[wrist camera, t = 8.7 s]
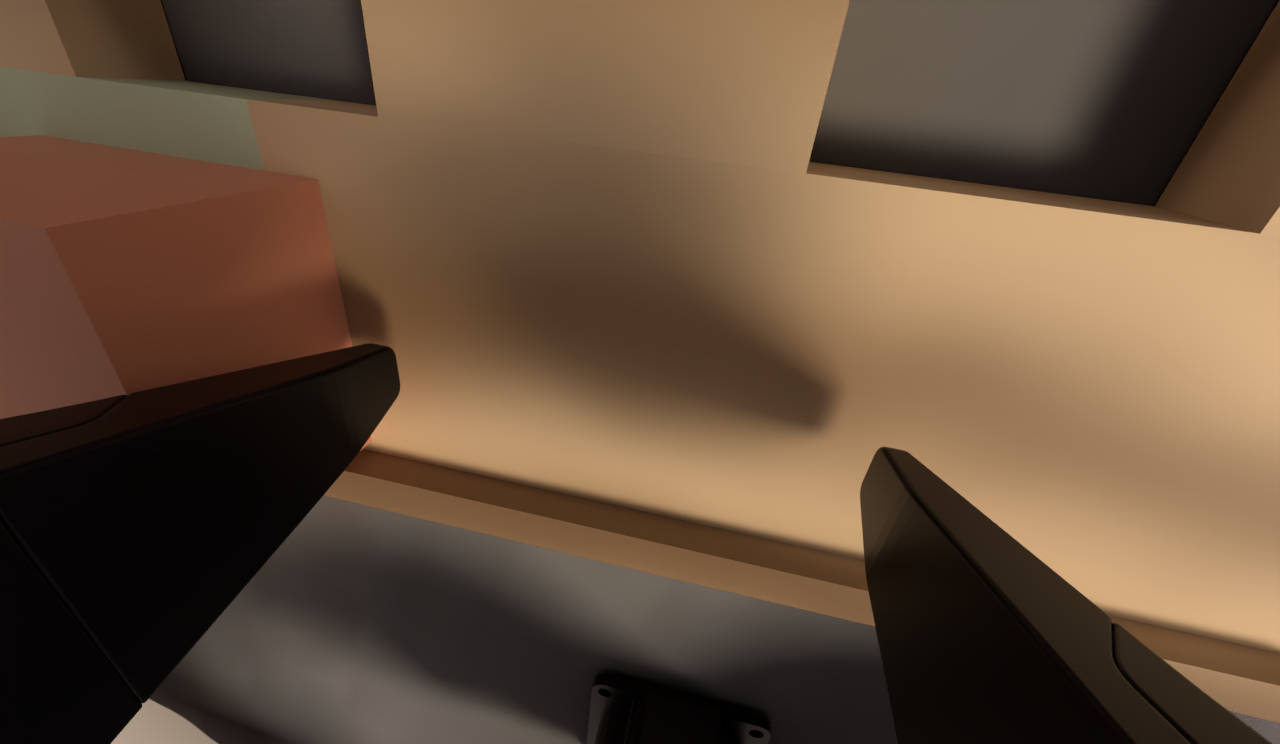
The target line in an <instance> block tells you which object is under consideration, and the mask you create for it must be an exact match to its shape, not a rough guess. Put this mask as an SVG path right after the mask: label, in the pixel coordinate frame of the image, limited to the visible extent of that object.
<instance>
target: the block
mask: <svg viewBox="0 0 1280 744" xmlns="http://www.w3.org/2000/svg"><path fill="white" fill-rule="evenodd" d="M348 347H352V342H351V337H350V332H349V327H348V323H347V318H346V313H345V308H344V304H343V299H342V294H341V289H340V284H339V280H338V275H337V270H336V265H335V260H334V256H333V251H332V246H331V241H330V236H329V232H328V227H327V222H326V217H325V213H324V208H323V203H322V198H321V193H320V189H319V184H318V179H312V178H306V177H300V176H294V175H288V174H281V173H275V172H269V171H263V170H256V169H250V168H244V167H238V166H231V165H225V164H219V163H213V162H207V161H200V160H194V159H188V158H182V157H175V156H169V155H163V154H157V153H150V152H144V151H138V150H132V149H126V148H119V147H113V146H107V145H101V144H94V143H88V142H82V141H76V140H69V139H63V138H57V137H51V136H45V135H35V136H14V137H0V419H2V418H8V417H13V416H19V415H24V414H29V413H35V412H40V411H45V410H50V409H55V408H60V407H65V406H70V405H75V404H80V403H85V402H90V401H95V400H100V399H105V398H109V397H114V396H119V395H129V394H131V393H134V392H138V391H143V390H148V389H153V388H157V387H162V386H167V385H172V384H176V383H181V382H186V381H191V380H196V379H200V378H205V377H210V376H215V375H219V374H224V373H229V372H234V371H238V370H243V369H248V368H253V367H258V366H262V365H267V364H272V363H277V362H281V361H286V360H291V359H296V358H300V357H305V356H310V355H315V354H319V353H324V352H329V351H334V350H339V349H343V348H348ZM371 441H372V438H371V436H370V438H369V439H368V440H367V442H366V443H365V445H364V446H363V448H364V447H365V446H367V445H368V444H369V443H370V442H371ZM363 448H362V449H363ZM362 449H361V450H362ZM361 450H360V451H361Z"/></svg>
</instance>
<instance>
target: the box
mask: <svg viewBox="0 0 1280 744" xmlns="http://www.w3.org/2000/svg"><path fill="white" fill-rule="evenodd" d="M849 2H850V0H361V5H362V11H363V18H364V25H365V32H366V39H367V45H368V52H369V59H370V66H371V72H372V79H373V86H374V93H375V100H376V106H375V105H368V104H360V103H352V102H344V101H337V100H329V99H321V98H313V97H306V96H298V95H290V94H283V93H275V92H267V91H259V90H252V89H244V88H236V87H228V86H221V85H213V84H205V83H198V82H190V81H185V78H184V74H183V71H182V68H181V65H180V62H179V58H178V55H177V52H176V49H175V46H174V42H173V39H172V36H171V33H170V30H169V26H168V23H167V20H166V17H165V14H164V10H163V7H162V4H161V1H160V0H0V137H14V136H35V135H45V136H51V137H57V138H63V139H69V140H76V141H82V142H88V143H94V144H101V145H107V146H113V147H119V148H126V149H132V150H138V151H144V152H150V153H157V154H163V155H169V156H175V157H182V158H188V159H194V160H200V161H207V162H213V163H219V164H225V165H231V166H238V167H244V168H250V169H256V170H263V171H269V172H275V173H281V174H288V175H294V176H300V177H306V178H312V179H318V184H319V189H320V193H321V198H322V203H323V208H324V213H325V217H326V222H327V227H328V232H329V236H330V241H331V246H332V251H333V256H334V260H335V265H336V270H337V275H338V280H339V284H340V289H341V294H342V299H343V304H344V308H345V313H346V318H347V323H348V327H349V332H350V337H351V342H352V347H353V346H358V345H362V344H367V343H374V344H379V345H384V346H388V347H390V348H392V349H393V350H394V352H395V354H396V360H397V366H398V372H399V378H400V392H399V395H398V397H397V399H396V400H395V402H394V403H393V405H392V406H391V407H390V409H389V410H388V412H387V413H386V415H385V416H384V417H383V419H382V420H381V422H380V423H379V425H378V426H377V428H376V429H375V430H374V432H373V433H372V435H371V438H372V441H371V442H370V443H369V444H368V445H367V446H365V447H364V448H363V449H362V450H361V451H360V452H359V453H358V454H357V456H356V457H355V459H354V460H353V461H352V462H351V463H350V465H349V466H348V467H347V468H346V470H345V471H344V472H343V473H342V474H341V475H340V477H339V478H338V479H337V480H336V481H335V482H334V484H333V485H332V486H331V487H330V488H329V489H328V491H327V492H326V493H325V494H324V496H328V497H333V498H337V499H341V500H345V501H349V502H354V503H358V504H362V505H366V506H370V507H375V508H379V509H383V510H387V511H391V512H396V513H400V514H404V515H408V516H412V517H417V518H421V519H425V520H429V521H433V522H438V523H442V524H446V525H450V526H454V527H459V528H463V529H467V530H471V531H476V532H480V533H484V534H488V535H492V536H497V537H501V538H505V539H509V540H513V541H518V542H522V543H526V544H530V545H534V546H539V547H543V548H547V549H551V550H555V551H560V552H564V553H568V554H572V555H576V556H581V557H585V558H589V559H593V560H597V561H602V562H606V563H610V564H614V565H618V566H623V567H627V568H631V569H635V570H639V571H644V572H648V573H652V574H656V575H660V576H665V577H669V578H673V579H677V580H681V581H686V582H690V583H694V584H698V585H702V586H707V587H711V588H715V589H719V590H723V591H728V592H732V593H736V594H740V595H745V596H749V597H753V598H757V599H761V600H766V601H770V602H774V603H778V604H782V605H787V606H791V607H795V608H799V609H803V610H808V611H812V612H816V613H820V614H824V615H829V616H833V617H837V618H841V619H845V620H850V621H854V622H858V623H862V624H866V625H871V626H875V622H874V617H873V612H872V607H871V602H870V597H869V592H868V586H867V580H866V572H865V561H864V547H863V533H862V520H861V506H860V489H861V484H862V482H863V479H864V477H865V475H866V473H867V470H868V468H869V466H870V464H871V461H872V459H873V457H874V455H875V453H876V451H877V450H878V449H879V448H880V447H890V448H895V449H900V450H904V451H907V452H909V453H910V454H911V455H912V456H914V457H915V458H916V459H917V460H918V461H920V462H921V463H922V464H923V465H925V466H926V467H927V468H928V469H930V470H931V471H932V472H933V473H934V474H936V475H937V476H938V477H939V478H941V479H942V480H943V481H944V482H945V483H947V484H948V485H949V486H950V487H952V488H953V489H954V490H955V491H956V492H958V493H959V494H960V495H961V496H963V497H964V498H965V499H966V500H968V501H969V502H970V503H971V504H972V505H974V506H975V507H976V508H977V509H979V510H980V511H981V512H982V513H983V514H985V515H986V516H987V517H988V518H990V519H991V520H992V521H993V522H995V523H996V524H997V525H998V526H999V527H1001V528H1002V529H1003V530H1004V531H1006V532H1007V533H1008V534H1009V535H1010V536H1012V537H1013V538H1014V539H1015V540H1017V541H1018V542H1019V543H1020V544H1022V545H1023V546H1024V547H1025V548H1026V549H1028V550H1029V551H1030V552H1031V553H1033V554H1034V555H1035V556H1036V557H1037V558H1039V559H1040V560H1041V561H1042V562H1044V563H1045V564H1046V565H1047V566H1049V567H1050V568H1051V569H1052V570H1053V571H1055V572H1056V573H1057V574H1058V575H1060V576H1061V577H1062V578H1063V579H1064V580H1066V581H1067V582H1068V583H1069V584H1071V585H1072V586H1073V587H1074V588H1076V589H1077V590H1078V591H1079V592H1080V593H1082V594H1083V595H1084V596H1085V597H1087V598H1088V599H1089V600H1090V601H1091V602H1093V603H1094V604H1095V605H1096V606H1098V607H1099V608H1100V609H1101V610H1103V611H1104V612H1105V613H1106V614H1107V615H1109V616H1110V617H1111V619H1112V623H1118V624H1120V625H1121V626H1122V627H1124V628H1125V629H1126V630H1127V631H1128V632H1130V633H1131V634H1132V635H1133V636H1135V637H1136V638H1137V639H1138V640H1139V641H1141V642H1142V643H1143V644H1144V645H1146V646H1147V647H1148V648H1149V649H1150V650H1152V651H1153V652H1154V653H1155V654H1157V655H1158V656H1159V657H1161V658H1162V659H1163V660H1164V661H1166V662H1167V663H1168V664H1169V665H1171V666H1172V667H1173V668H1174V669H1176V670H1177V671H1178V672H1179V673H1181V674H1182V675H1183V676H1184V677H1186V678H1187V679H1188V680H1189V681H1191V682H1192V683H1193V684H1194V685H1196V686H1197V687H1198V688H1199V689H1201V690H1202V691H1203V692H1205V693H1206V694H1207V695H1209V696H1210V697H1211V698H1213V699H1214V700H1215V701H1217V702H1218V703H1219V704H1220V705H1222V706H1223V707H1224V708H1226V709H1227V710H1228V711H1232V712H1236V713H1240V714H1245V715H1249V716H1253V717H1257V718H1262V719H1266V720H1270V721H1274V722H1278V723H1280V0H1279V2H1278V3H1277V5H1276V7H1275V8H1274V10H1273V12H1272V13H1271V15H1270V17H1269V18H1268V20H1267V22H1266V23H1265V25H1264V27H1263V28H1262V30H1261V32H1260V33H1259V35H1258V36H1257V38H1256V40H1255V41H1254V43H1253V45H1252V46H1251V48H1250V50H1249V51H1248V53H1247V55H1246V56H1245V58H1244V60H1243V61H1242V63H1241V65H1240V66H1239V68H1238V70H1237V71H1236V73H1235V74H1234V76H1233V78H1232V79H1231V81H1230V83H1229V84H1228V86H1227V88H1226V89H1225V91H1224V93H1223V94H1222V96H1221V98H1220V99H1219V101H1218V103H1217V104H1216V106H1215V108H1214V109H1213V111H1212V113H1211V114H1210V116H1209V117H1208V119H1207V121H1206V122H1205V124H1204V126H1203V127H1202V129H1201V131H1200V132H1199V134H1198V136H1197V137H1196V139H1195V141H1194V142H1193V144H1192V146H1191V147H1190V149H1189V151H1188V152H1187V154H1186V155H1185V157H1184V159H1183V160H1182V162H1181V164H1180V165H1179V167H1178V169H1177V170H1176V172H1175V174H1174V175H1173V177H1172V179H1171V180H1170V182H1169V184H1168V185H1167V187H1166V189H1165V190H1164V192H1163V194H1162V195H1161V197H1160V198H1159V200H1158V202H1157V203H1156V205H1155V206H1148V205H1140V204H1132V203H1125V202H1117V201H1109V200H1101V199H1094V198H1086V197H1078V196H1070V195H1063V194H1055V193H1047V192H1040V191H1032V190H1024V189H1016V188H1009V187H1001V186H993V185H986V184H978V183H970V182H962V181H955V180H947V179H939V178H931V177H924V176H916V175H908V174H901V173H893V172H885V171H877V170H870V169H862V168H854V167H846V166H839V165H831V164H823V163H816V162H809V160H810V156H811V152H812V148H813V144H814V140H815V136H816V132H817V128H818V124H819V120H820V116H821V112H822V108H823V104H824V100H825V97H826V93H827V89H828V85H829V81H830V77H831V73H832V69H833V65H834V61H835V57H836V53H837V49H838V45H839V41H840V37H841V33H842V29H843V25H844V21H845V18H846V14H847V10H848V6H849Z"/></svg>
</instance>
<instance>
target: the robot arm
mask: <svg viewBox="0 0 1280 744" xmlns="http://www.w3.org/2000/svg"><path fill="white" fill-rule="evenodd" d="M399 392H400V378H399V372H398V366H397V360H396V354H395V352H394V350H393V349H392V348H390V347H388V346H384V345H379V344H374V343H367V344H362V345H358V346H353V347H348V348H343V349H339V350H334V351H329V352H324V353H319V354H315V355H310V356H305V357H300V358H296V359H291V360H286V361H281V362H277V363H272V364H267V365H262V366H258V367H253V368H248V369H243V370H238V371H234V372H229V373H224V374H219V375H215V376H210V377H205V378H200V379H196V380H191V381H186V382H181V383H176V384H172V385H167V386H162V387H157V388H153V389H148V390H143V391H138V392H134V393H131V394H129V395H119V396H114V397H109V398H105V399H100V400H95V401H90V402H85V403H80V404H75V405H70V406H65V407H60V408H55V409H50V410H45V411H40V412H35V413H29V414H24V415H19V416H13V417H8V418H2V419H0V744H111V742H112V741H113V740H114V739H115V738H116V737H117V735H118V734H119V733H120V732H121V731H122V730H123V728H124V727H125V726H126V725H127V724H128V722H129V721H130V720H131V719H132V718H133V717H134V716H135V714H136V713H137V712H138V711H139V710H140V709H141V707H142V704H141V703H145V702H146V701H147V700H148V699H149V698H150V696H151V695H152V694H153V693H154V692H155V691H156V689H157V688H158V687H159V686H160V685H161V684H162V682H163V681H164V680H165V679H166V678H167V677H168V675H169V674H170V673H171V672H172V671H173V670H174V668H175V667H176V666H177V665H178V664H179V663H180V661H181V660H182V659H183V658H184V657H185V656H186V655H187V653H188V652H189V651H190V650H191V649H192V648H193V646H194V645H195V644H196V643H197V642H198V641H199V639H200V638H201V637H202V636H203V635H204V634H205V632H206V631H207V630H208V629H209V628H210V627H211V625H212V624H213V623H214V622H215V621H216V620H217V618H218V617H219V616H220V615H221V614H222V613H223V611H224V610H225V609H226V608H227V607H228V606H229V605H230V603H231V602H232V601H233V600H234V599H235V598H236V596H237V595H238V594H239V593H240V592H241V591H242V589H243V588H244V587H245V586H246V585H247V584H248V582H249V581H250V580H251V579H252V578H253V577H254V575H255V574H256V573H257V572H258V571H259V570H260V568H261V567H262V566H263V565H264V564H265V563H266V561H267V560H268V559H269V558H270V557H271V556H272V554H273V553H274V552H275V551H276V550H277V549H278V548H279V546H280V545H281V544H282V543H283V542H284V541H285V539H286V538H287V537H288V536H289V535H290V534H291V532H292V531H293V530H294V529H295V528H296V527H297V525H298V524H299V523H300V522H301V521H302V520H303V518H304V517H305V516H306V515H307V514H308V513H309V511H310V510H311V509H312V508H313V507H314V506H315V504H316V503H317V502H318V501H319V500H320V499H321V498H322V496H323V495H324V494H325V493H326V492H327V491H328V489H329V488H330V487H331V486H332V485H333V484H334V482H335V481H336V480H337V479H338V478H339V477H340V475H341V474H342V473H343V472H344V471H345V470H346V468H347V467H348V466H349V465H350V463H351V462H352V461H353V460H354V459H355V457H356V456H357V454H358V453H359V452H360V450H361V449H362V448H363V446H364V445H365V443H366V442H367V440H368V439H369V438H370V436H371V435H372V433H373V432H374V430H375V429H376V428H377V426H378V425H379V423H380V422H381V420H382V419H383V417H384V416H385V415H386V413H387V412H388V410H389V409H390V407H391V406H392V405H393V403H394V402H395V400H396V399H397V397H398V395H399ZM860 506H861V520H862V533H863V547H864V561H865V572H866V580H867V586H868V592H869V597H870V602H871V607H872V612H873V617H874V622H875V628H876V633H877V638H878V643H879V648H880V653H881V658H882V663H883V668H884V673H885V678H886V683H887V688H888V693H889V699H890V704H891V709H892V714H893V719H894V724H895V729H896V734H897V739H898V744H1272V743H1271V742H1269V741H1268V740H1267V739H1265V738H1264V737H1263V736H1261V735H1260V734H1259V733H1257V732H1256V731H1255V730H1253V729H1252V728H1251V727H1249V726H1248V725H1247V724H1245V723H1244V722H1243V721H1242V720H1240V719H1239V718H1238V717H1236V716H1235V715H1234V714H1232V713H1231V712H1230V711H1228V710H1227V709H1226V708H1224V707H1223V706H1222V705H1220V704H1219V703H1218V702H1217V701H1215V700H1214V699H1213V698H1211V697H1210V696H1209V695H1207V694H1206V693H1205V692H1203V691H1202V690H1201V689H1199V688H1198V687H1197V686H1196V685H1194V684H1193V683H1192V682H1191V681H1189V680H1188V679H1187V678H1186V677H1184V676H1183V675H1182V674H1181V673H1179V672H1178V671H1177V670H1176V669H1174V668H1173V667H1172V666H1171V665H1169V664H1168V663H1167V662H1166V661H1164V660H1163V659H1162V658H1161V657H1159V656H1158V655H1157V654H1155V653H1154V652H1153V651H1152V650H1150V649H1149V648H1148V647H1147V646H1146V645H1144V644H1143V643H1142V642H1141V641H1139V640H1138V639H1137V638H1136V637H1135V636H1133V635H1132V634H1131V633H1130V632H1128V631H1127V630H1126V629H1125V628H1124V627H1122V626H1121V625H1120V624H1118V623H1112V619H1111V617H1110V616H1109V615H1107V614H1106V613H1105V612H1104V611H1103V610H1101V609H1100V608H1099V607H1098V606H1096V605H1095V604H1094V603H1093V602H1091V601H1090V600H1089V599H1088V598H1087V597H1085V596H1084V595H1083V594H1082V593H1080V592H1079V591H1078V590H1077V589H1076V588H1074V587H1073V586H1072V585H1071V584H1069V583H1068V582H1067V581H1066V580H1064V579H1063V578H1062V577H1061V576H1060V575H1058V574H1057V573H1056V572H1055V571H1053V570H1052V569H1051V568H1050V567H1049V566H1047V565H1046V564H1045V563H1044V562H1042V561H1041V560H1040V559H1039V558H1037V557H1036V556H1035V555H1034V554H1033V553H1031V552H1030V551H1029V550H1028V549H1026V548H1025V547H1024V546H1023V545H1022V544H1020V543H1019V542H1018V541H1017V540H1015V539H1014V538H1013V537H1012V536H1010V535H1009V534H1008V533H1007V532H1006V531H1004V530H1003V529H1002V528H1001V527H999V526H998V525H997V524H996V523H995V522H993V521H992V520H991V519H990V518H988V517H987V516H986V515H985V514H983V513H982V512H981V511H980V510H979V509H977V508H976V507H975V506H974V505H972V504H971V503H970V502H969V501H968V500H966V499H965V498H964V497H963V496H961V495H960V494H959V493H958V492H956V491H955V490H954V489H953V488H952V487H950V486H949V485H948V484H947V483H945V482H944V481H943V480H942V479H941V478H939V477H938V476H937V475H936V474H934V473H933V472H932V471H931V470H930V469H928V468H927V467H926V466H925V465H923V464H922V463H921V462H920V461H918V460H917V459H916V458H915V457H914V456H912V455H911V454H910V453H909V452H907V451H904V450H900V449H895V448H890V447H880V448H879V449H878V450H877V451H876V453H875V455H874V457H873V459H872V461H871V464H870V466H869V468H868V470H867V473H866V475H865V477H864V479H863V482H862V484H861V489H860ZM770 738H771V722H770V721H769V719H767V718H766V717H765V716H762V715H760V714H756V713H752V712H748V711H745V710H741V709H737V708H733V707H730V706H726V705H722V704H718V703H715V702H711V701H707V700H703V699H700V698H696V697H692V696H688V695H685V694H681V693H677V692H673V691H669V690H666V689H662V688H658V687H654V686H651V685H647V684H643V683H639V682H636V681H632V680H628V679H624V678H621V677H617V676H613V675H609V674H598V675H596V676H595V678H594V682H593V686H592V690H591V700H590V711H589V721H588V732H587V742H586V744H768V743H769V740H770Z"/></svg>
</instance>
